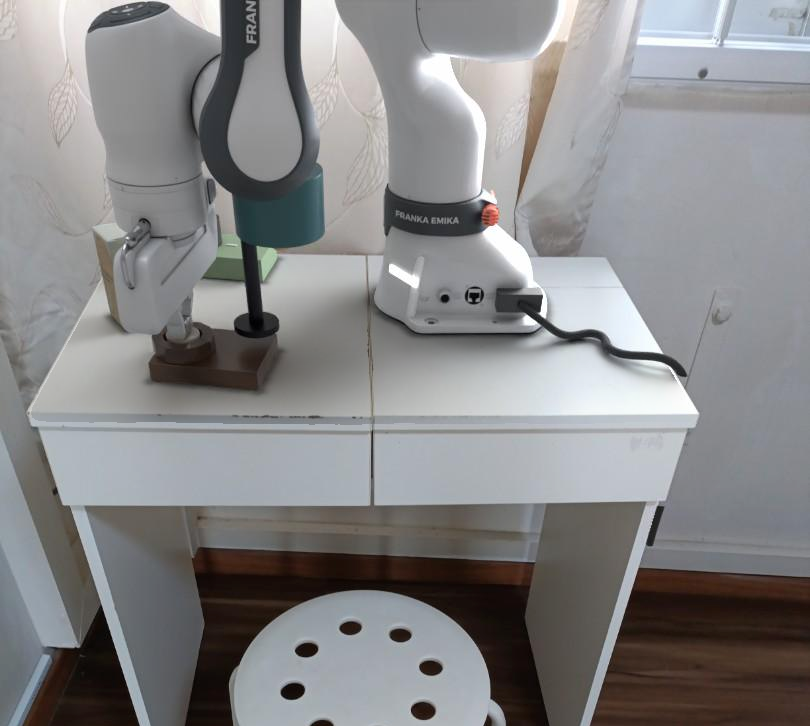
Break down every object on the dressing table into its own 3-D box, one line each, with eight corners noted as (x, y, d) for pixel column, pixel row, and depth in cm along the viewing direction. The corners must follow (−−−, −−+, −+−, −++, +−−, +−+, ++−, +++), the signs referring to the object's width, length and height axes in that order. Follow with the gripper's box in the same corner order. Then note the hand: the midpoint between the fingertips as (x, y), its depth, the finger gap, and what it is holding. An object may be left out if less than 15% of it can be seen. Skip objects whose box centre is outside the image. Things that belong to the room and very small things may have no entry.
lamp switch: (205, 341, 89) (203, 327, 88) (195, 357, 86) (193, 342, 85) (174, 338, 89) (172, 324, 88) (163, 354, 87) (160, 339, 86)
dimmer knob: (219, 236, 110) (216, 208, 108) (224, 247, 107) (221, 219, 105) (190, 239, 109) (186, 211, 107) (194, 250, 106) (190, 221, 104)
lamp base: (278, 350, 93) (275, 319, 90) (258, 390, 86) (255, 357, 84) (176, 341, 94) (171, 310, 91) (149, 380, 87) (142, 347, 84)
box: (110, 315, 98) (89, 225, 91) (143, 307, 100) (125, 218, 93) (126, 332, 95) (106, 240, 88) (160, 323, 97) (143, 232, 90)
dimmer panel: (277, 258, 113) (275, 236, 111) (262, 282, 107) (260, 259, 105) (191, 251, 114) (187, 229, 112) (171, 275, 108) (167, 251, 106)
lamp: (335, 315, 91) (330, 158, 80) (319, 353, 85) (312, 187, 73) (246, 308, 92) (229, 151, 81) (223, 345, 85) (201, 179, 74)
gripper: (153, 246, 69) (178, 385, 79) (221, 173, 85) (235, 296, 94) (83, 240, 70) (116, 379, 79) (163, 169, 85) (183, 292, 94)
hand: (181, 333), depth 87 cm, fingers closed, pressing on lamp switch
